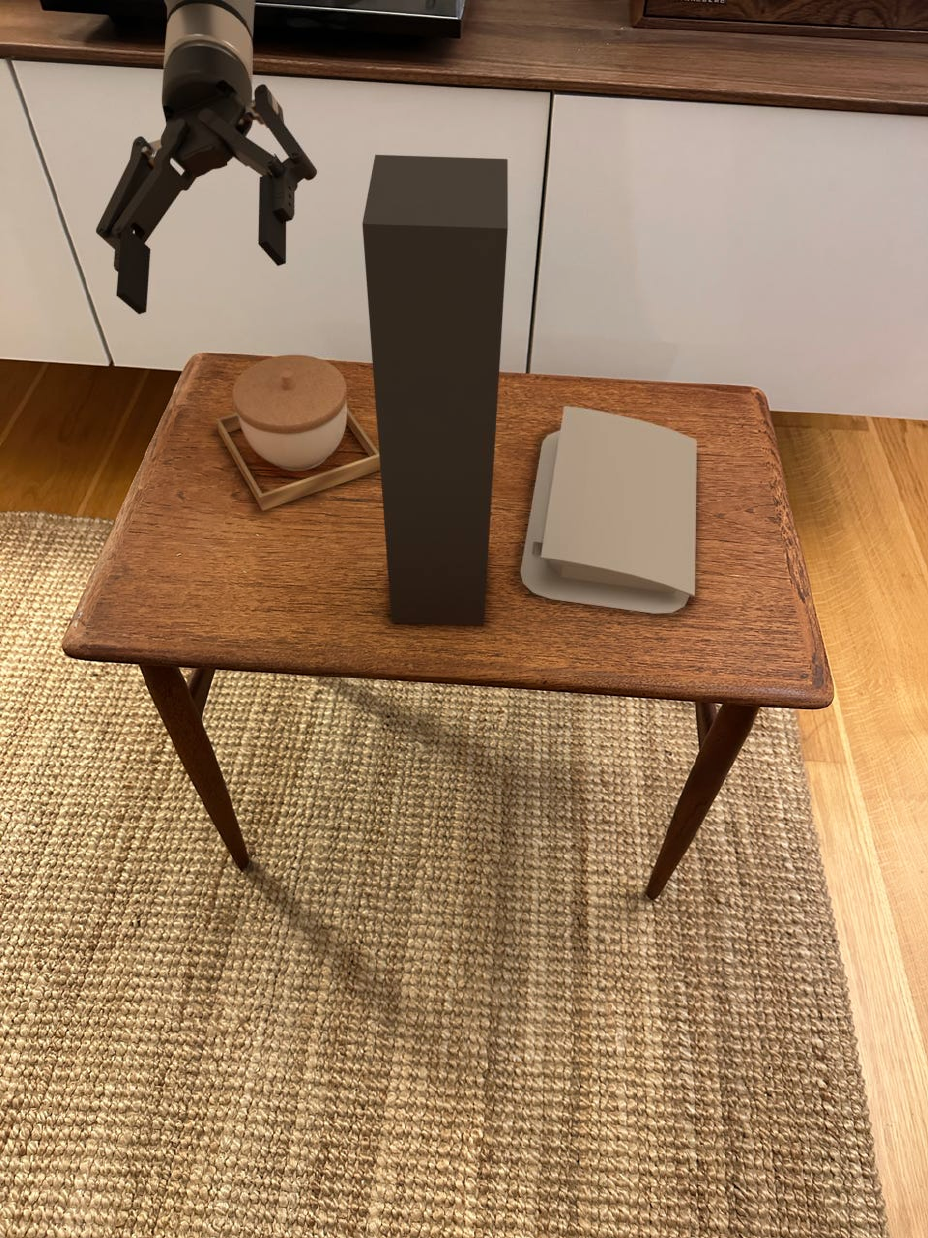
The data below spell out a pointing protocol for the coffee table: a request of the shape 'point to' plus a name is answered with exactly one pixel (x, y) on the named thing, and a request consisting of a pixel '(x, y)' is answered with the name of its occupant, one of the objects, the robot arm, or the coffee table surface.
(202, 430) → the coffee table surface
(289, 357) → the trinket box
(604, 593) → the beige covered tray
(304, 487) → the empty wooden frame
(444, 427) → the pedestal
